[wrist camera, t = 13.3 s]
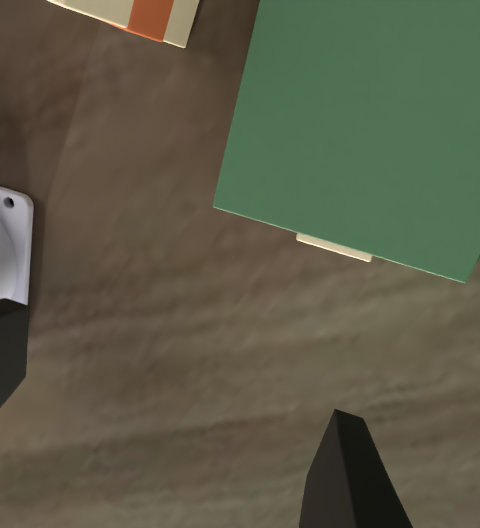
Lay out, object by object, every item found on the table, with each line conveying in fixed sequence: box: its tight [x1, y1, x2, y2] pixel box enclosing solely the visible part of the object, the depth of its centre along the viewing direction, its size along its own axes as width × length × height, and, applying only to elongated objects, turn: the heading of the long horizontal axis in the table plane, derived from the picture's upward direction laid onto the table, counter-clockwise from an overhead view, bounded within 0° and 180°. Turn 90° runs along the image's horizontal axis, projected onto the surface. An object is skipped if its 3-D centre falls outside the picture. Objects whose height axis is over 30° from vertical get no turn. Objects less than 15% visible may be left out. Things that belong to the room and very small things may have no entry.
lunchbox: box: [213, 0, 480, 283], centre depth 13 cm, size 8×14×5 cm, turn 166°
